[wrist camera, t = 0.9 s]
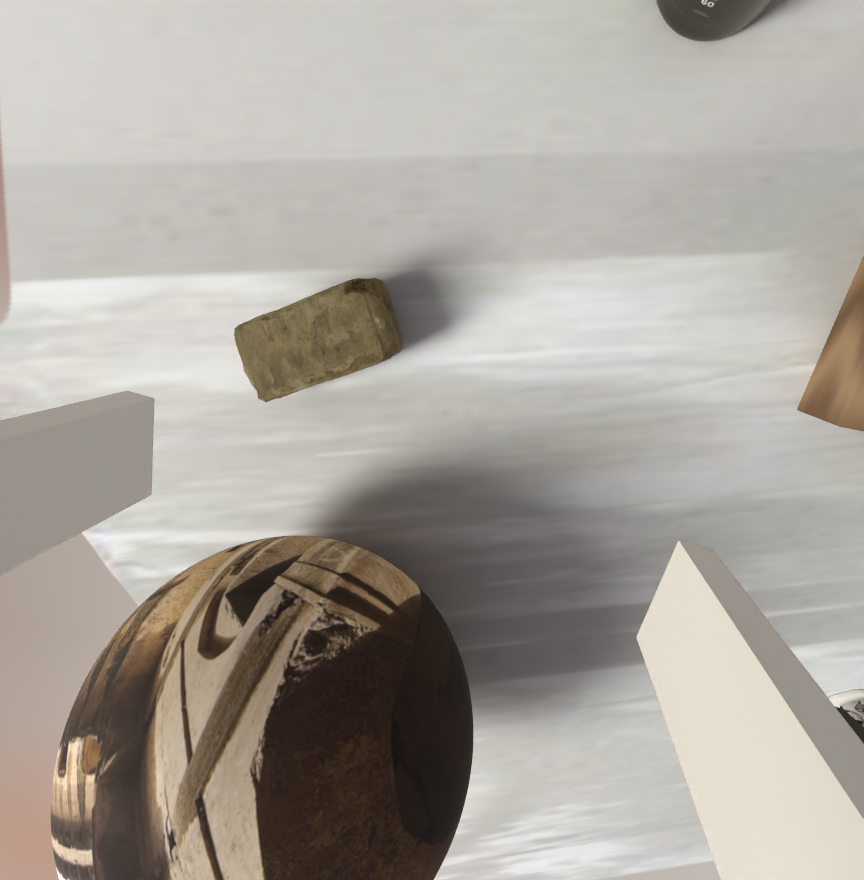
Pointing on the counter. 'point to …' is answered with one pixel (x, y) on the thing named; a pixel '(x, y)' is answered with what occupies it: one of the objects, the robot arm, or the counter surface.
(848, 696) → the decorative candle
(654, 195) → the counter surface
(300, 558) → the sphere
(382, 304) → the stone block
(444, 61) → the counter surface
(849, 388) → the walnut base block
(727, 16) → the supplement bottle
